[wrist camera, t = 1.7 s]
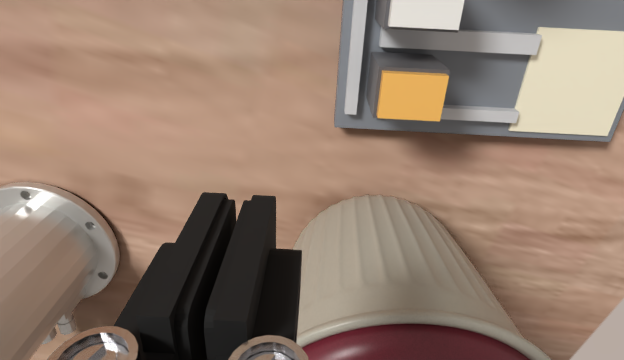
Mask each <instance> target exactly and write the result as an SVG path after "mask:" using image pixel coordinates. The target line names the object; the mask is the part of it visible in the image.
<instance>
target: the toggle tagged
mask: <svg viewBox="0 0 624 360" xmlns="http://www.w3.org/2000/svg"><path fill="white" fill-rule="evenodd" d="M449 75H450V70H449V69H448V68H447V67H446V66H445V65H444V64H442V63H441V62H440V61H439V60H438V59H436V58H435V57H434V56H433V55H428V54H409V53H389V52H371V56H370V65H369V74H368V84H367V93H366V97H367V101H368V104H369V107H370V111H371V114H372V117H373V118H384V119H403V120H422V121H440V119H441V115H442V110H443V105H444V100H445V95H446V90H447V85H448V80H449Z"/></svg>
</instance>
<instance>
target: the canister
mask: <svg viewBox="0 0 624 360" xmlns="http://www.w3.org/2000/svg"><path fill="white" fill-rule="evenodd" d="M293 250H302V266H301V288H300V303H299V316H298V329H297V342H296V344H298V345H299V346H301V348H302V349H303V350H304V352H305V353H306V354H307V356H308V358H309V360H552V359H551V358H550V357H549V356H547V355H546V354H545V353H544V352H543V351H542V350H541V349H539V348H538V347H537V346H535V345H534V344H533V343H531V342H530V341H528V340H527V339H525V338H523V337H522V335H521V334H520V332H519V330H518V329H517V327H516V326H515V325H514V323H513V322H512V320H511V319H510V318H509V316H508V315H507V313H506V312H505V310H504V309H503V308H502V306H501V305H500V303H499V302H498V300H497V299H496V298H495V296H494V295H493V293H492V292H491V290H490V289H489V287H488V286H487V284H486V283H485V281H484V280H483V279H482V277H481V276H480V274H479V273H478V272H477V270H476V269H475V267H474V266H473V264H472V263H471V262H470V260H469V259H468V258H467V256H466V255H465V254H464V252H463V251H462V250H461V248H460V247H459V246H458V244H457V243H456V242H455V240H454V239H453V238H452V236H451V235H450V234H449V232H448V231H447V230H446V228H445V227H444V226H443V225H442V224H441V223H440V222H439V221H438V220H437V219H435V218H434V217H433V215H431V214H430V213H429V212H428V211H426V210H423V209H422V208H421V207H420V206H418V205H417V204H413V203H410V202H408V201H407V200H405V199H398V198H395V197H394V196H383V195H380V194H379V195H365V196H360V197H355V196H354V197H352V198H351V199H347V200H342V201H340V202H339V203H337V204H334V205H331V206H329V208H328V209H326V210H324V211H321V212H320V213H319V214H318V216H317V217H315V218H313V219H312V220H311V221H310V222H309V224H308V226H307V227H306V228H304V229H303V231H302V232H301V234H300V236H299V239H298V240H297V241H296V243H295V245H294V247H293Z"/></svg>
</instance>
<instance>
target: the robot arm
mask: <svg viewBox="0 0 624 360" xmlns="http://www.w3.org/2000/svg"><path fill="white" fill-rule="evenodd" d="M119 255H120V252H119V247H118V243H117V240H116V237H115V235H114V233H113V231H112V229H111V228H110V226H109V225H108V223H107V222H106V221H105V219H104V218H103V217H102V216H101V215H100V214H99V213H98V212H97V211H96V210H95V209H94V208H93V207H91V206H90V205H89V204H87V203H86V202H85V201H84V200H82V199H80V198H78V197H77V196H75V195H73V194H72V193H70V192H67V191H65V190H62V189H60V188H57V187H55V186H51V185H47V184H43V183H35V182H16V183H10V184H7V185H3V186H0V360H30V359H31V357H32V356H33V355H34V353H35V352H36V351H37V349H38V348H39V347H40V345H41V344H45V343H48V342H50V341H51V340H53V339H54V338H55V336H56V334H57V332H56V329H55V326H56V324H58V327H59V330H60V332H61V334H64V335H66V334H70V333H72V332H73V331H74V330H75V329H76V327H77V326H76V323H75V320H74V317H73V315H72V311H73V310H74V309H75V307H76V306H77V304H78V303H79V302H80V300H81V299H84V298H88V297H90V296H92V295H95V294H97V293H98V292H100V291H101V290H103V289H104V288H105V287H106V286H107V285H108V283H109V282H110V281H111V279H112V278H113V276H114V275H115V273H116V271H117V268H118V265H119ZM301 266H302V250H291V249H276V197H275V196H261V195H253V197H252V199H251V201H247V200H244V202H243V205H242V207H241V210H240V213H239V216H238V219H237V222H236V209H235V201H234V200H229V199H228V197H227V194H224V193H206V192H204V193H202V195H201V196H200V198H199V200H198V202H197V204H196V206H195V207H194V209H193V211H192V213H191V215H190V217H189V218H188V220H187V222H186V224H185V226H184V228H183V230H182V231H181V233H180V235H179V237H178V239H177V241H176V242H175V243H164V244H162V246H161V247H160V248H159V250H158V252H157V253H156V255H155V257H154V259H153V260H152V262H151V264H150V265H149V267H148V269H147V270H146V272H145V274H144V275H143V277H142V279H141V281H140V282H139V284H138V286H137V287H136V289H135V291H134V292H133V294H132V296H131V297H130V299H129V301H128V303H127V304H126V306H125V308H124V309H123V311H122V313H121V314H120V316H119V318H118V320H117V321H116V323H115V325H114V326H102V327H97V328H91V329H89V330H86V331H84V332H81V333H79V334H77V335H75V336H73V337H72V338H70V339H68V340H67V341H65V342H64V343H63V344H62V345H60V346H59V347H58V348H57V349H56V350H55V351H54V352H53V353H52V354H51V355H50V356H49V357H48V359H47V360H309V358H308V356H307V354H306V353H305V352H304V350H303V349H302V348H301V346H299V345H298V344H296V342H297V329H298V316H299V303H300V288H301Z"/></svg>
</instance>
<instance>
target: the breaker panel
mask: <svg viewBox="0 0 624 360" xmlns="http://www.w3.org/2000/svg"><path fill="white" fill-rule="evenodd" d="M376 2H377V0H343V9H342V22H341V36H340V49H339V63H338V76H337V90H336V103H335V117H334V125H335V127H340V128H359V129H378V130H397V131H416V132H434V133H453V134H472V135H491V136H510V137H529V138H547V139H566V140H585V141H604V142H610V141H611V138H612V136H613V133H614V131H615V129H616V126H617V124H618V122H619V119H620V117H621V115H622V112H623V110H624V0H465V2H464V7H463V12H462V16H461V21H460V26H459V31H458V33H455V32H436V31H416V30H397V29H383V28H382V27H381V26H380V24H379V23H378V22H377V21H376V20H375V11H376ZM371 52H389V53H409V54H428V55H433V56H434V57H435V58H436V59H438V60H439V61H440V62H441V63H442V64H444V65H445V66H446V67H447V68H448V69H449V70H450V75H449V80H448V85H447V90H446V95H445V100H444V105H443V110H442V115H441V119H440V121H422V120H403V119H384V118H373V117H372V114H371V111H370V107H369V104H368V101H367V97H366V93H367V84H368V74H369V65H370V56H371Z"/></svg>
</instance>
